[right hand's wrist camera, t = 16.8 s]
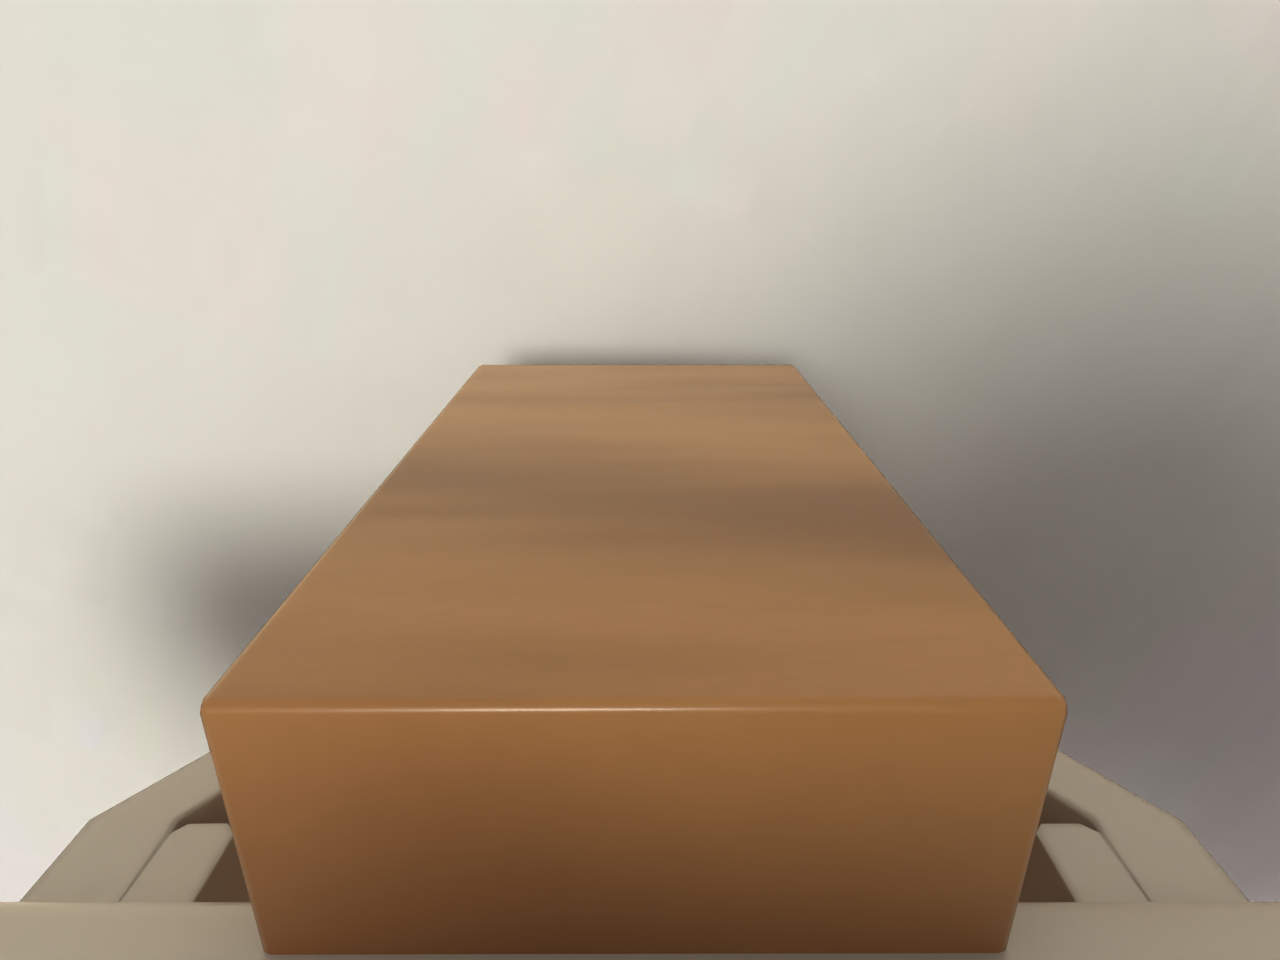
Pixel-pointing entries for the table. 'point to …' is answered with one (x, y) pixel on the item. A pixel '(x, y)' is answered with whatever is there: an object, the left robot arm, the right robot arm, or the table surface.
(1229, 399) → the table surface
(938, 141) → the table surface
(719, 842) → the bar
